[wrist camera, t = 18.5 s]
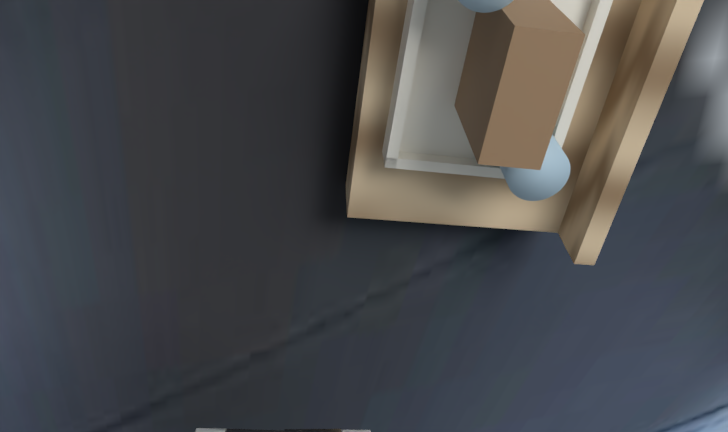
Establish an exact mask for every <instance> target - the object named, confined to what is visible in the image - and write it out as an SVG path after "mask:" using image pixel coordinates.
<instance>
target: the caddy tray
mask: <svg viewBox="0 0 728 432" xmlns="http://www.w3.org/2000/svg"><path fill="white" fill-rule="evenodd" d="M612 2H613V0H408V3H407V9H406V15H405V20H404V26H403V32H402V38H401V44H400V50H399V55H398V61H397V67H396V73H395V79H394V85H393V90H392V96H391V102H390V108H389V114H388V120H387V126H386V131H385V137H384V143H383V149H382V153H383V160H384V166H385V168H395V169H405V170H416V171H427V172H437V173H448V174H459V175H469V176H480V177H491V178H501V179H505V180H506V182H507V184H508V186H509V189H510V190H511V192H512V193H513V194H514V195H515V196H517V197H519V198H521V199H523V200H527V201H539V200H543V199H547V198H549V197H551V196H553V195H554V194H556V193H557V192H559V191H560V190H561V189H562V188H563V187H564V185H565V184H566V182H567V181H568V178H569V175H570V162H569V159H568V158H567V156H566V154H565V153H564V151H563V150H562V146H563V143H564V140H565V138H566V135H567V132H568V129H569V126H570V123H571V120H572V117H573V115H574V112H575V109H576V106H577V103H578V100H579V97H580V94H581V92H582V89H583V86H584V83H585V80H586V77H587V74H588V71H589V69H590V66H591V63H592V60H593V57H594V54H595V51H596V48H597V45H598V43H599V40H600V37H601V34H602V31H603V28H604V25H605V22H606V20H607V17H608V14H609V11H610V8H611V5H612Z"/></svg>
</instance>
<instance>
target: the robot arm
mask: <svg viewBox="0 0 728 432" xmlns="http://www.w3.org/2000/svg"><path fill="white" fill-rule="evenodd" d="M195 432H371V431H370V430H342V431H341V429H285V430H252V429H218V428H196V431H195Z"/></svg>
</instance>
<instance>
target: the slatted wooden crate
mask: <svg viewBox="0 0 728 432" xmlns="http://www.w3.org/2000/svg"><path fill="white" fill-rule="evenodd" d="M703 1H704V0H613V2H612V5H611V8H610V11H609V14H608V17H607V20H606V22H605V25H604V28H603V31H602V34H601V37H600V40H599V43H598V45H597V48H596V51H595V54H594V57H593V60H592V63H591V66H590V69H589V71H588V74H587V77H586V80H585V83H584V86H583V89H582V92H581V94H580V97H579V100H578V103H577V106H576V109H575V112H574V115H573V117H572V120H571V123H570V126H569V129H568V132H567V135H566V138H565V140H564V143H563V146H562V150H563V151H564V153H565V154H566V156H567V158H568V159H569V162H570V175H569V178H568V181H567V182H566V184H565V185H564V187H563V188H562V189H561V190H560V191H559V192H557V193H556V194H554V195H553V196H551V197H549V198H547V199H543V200H539V201H527V200H523V199H521V198H519V197H517V196H515V195H514V194H513V193H512V192H511V190H510V189H509V186H508V184H507V182H506V180H505V179H501V178H491V177H480V176H469V175H459V174H448V173H437V172H427V171H416V170H405V169H395V168H385V166H384V160H383V153H382V149H383V143H384V137H385V131H386V126H387V120H388V114H389V108H390V102H391V96H392V90H393V85H394V79H395V73H396V67H397V61H398V55H399V50H400V44H401V38H402V32H403V26H404V20H405V15H406V9H407V3H408V0H369V3H368V11H367V19H366V27H365V35H364V43H363V51H362V59H361V67H360V75H359V83H358V91H357V99H356V107H355V114H354V122H353V130H352V138H351V146H350V154H349V162H348V170H347V178H346V204H347V217H351V218H365V219H379V220H392V221H406V222H419V223H433V224H446V225H460V226H474V227H487V228H501V229H514V230H528V231H542V232H555V233H558V234H559V236H560V237H561V239H562V241H563V243H564V245H565V247H566V249H567V251H568V253H569V255H570V257H571V259H572V261H573V263H574V264H585V265H595V262H596V260H597V257H598V255H599V253H600V250H601V248H602V245H603V243H604V241H605V238H606V236H607V233H608V231H609V228H610V226H611V224H612V221H613V219H614V216H615V214H616V212H617V209H618V207H619V204H620V202H621V199H622V197H623V195H624V192H625V190H626V187H627V185H628V183H629V180H630V178H631V175H632V173H633V170H634V168H635V166H636V163H637V161H638V158H639V156H640V154H641V151H642V149H643V146H644V144H645V141H646V139H647V137H648V134H649V132H650V129H651V127H652V125H653V122H654V120H655V117H656V115H657V112H658V110H659V108H660V105H661V103H662V100H663V98H664V96H665V93H666V91H667V88H668V86H669V83H670V81H671V79H672V76H673V74H674V71H675V69H676V67H677V64H678V62H679V59H680V57H681V54H682V52H683V50H684V47H685V45H686V42H687V40H688V38H689V35H690V33H691V30H692V28H693V25H694V23H695V21H696V18H697V16H698V13H699V11H700V9H701V6H702V4H703Z"/></svg>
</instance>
